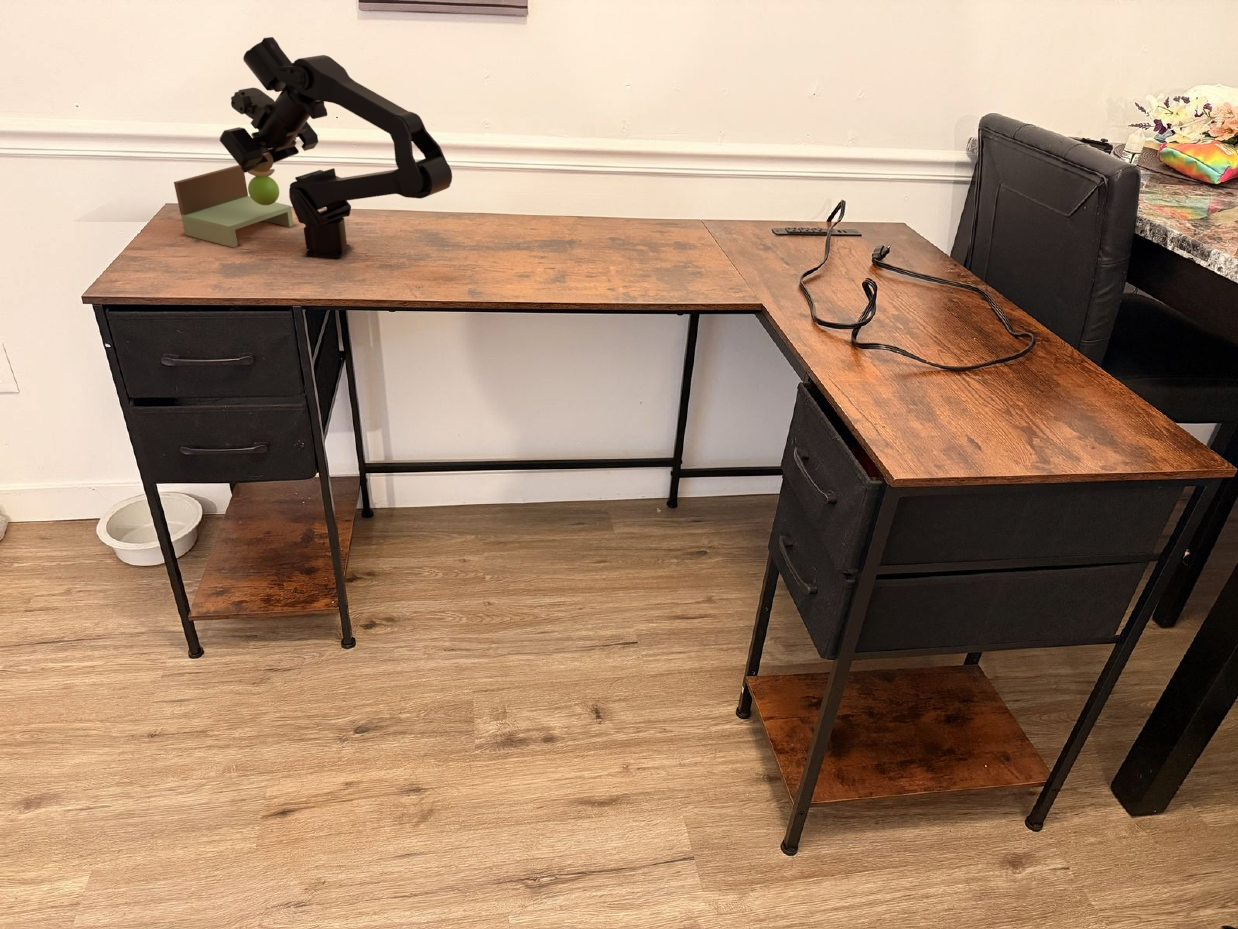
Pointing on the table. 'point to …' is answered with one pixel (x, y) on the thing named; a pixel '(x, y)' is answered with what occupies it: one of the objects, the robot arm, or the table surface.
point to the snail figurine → (263, 183)
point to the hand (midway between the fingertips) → (251, 167)
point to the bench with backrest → (223, 206)
